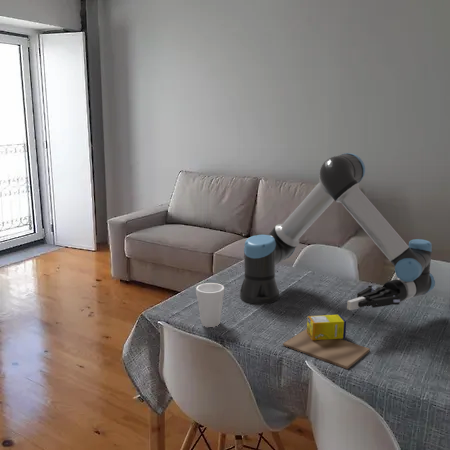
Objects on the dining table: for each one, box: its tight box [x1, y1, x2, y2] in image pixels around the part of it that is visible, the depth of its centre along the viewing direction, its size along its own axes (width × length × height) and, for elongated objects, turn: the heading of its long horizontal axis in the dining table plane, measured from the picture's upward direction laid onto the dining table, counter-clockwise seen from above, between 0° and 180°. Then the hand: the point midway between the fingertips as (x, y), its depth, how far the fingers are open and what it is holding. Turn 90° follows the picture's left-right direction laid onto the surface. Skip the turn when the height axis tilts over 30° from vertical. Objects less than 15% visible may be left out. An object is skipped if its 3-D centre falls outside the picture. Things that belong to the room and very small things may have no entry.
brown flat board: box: [282, 328, 371, 370], centre depth 155 cm, size 22×14×1 cm, turn 49°
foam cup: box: [195, 282, 225, 328], centre depth 172 cm, size 10×9×13 cm
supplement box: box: [306, 314, 347, 341], centre depth 161 cm, size 6×6×11 cm
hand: (349, 305), depth 159 cm, fingers closed
